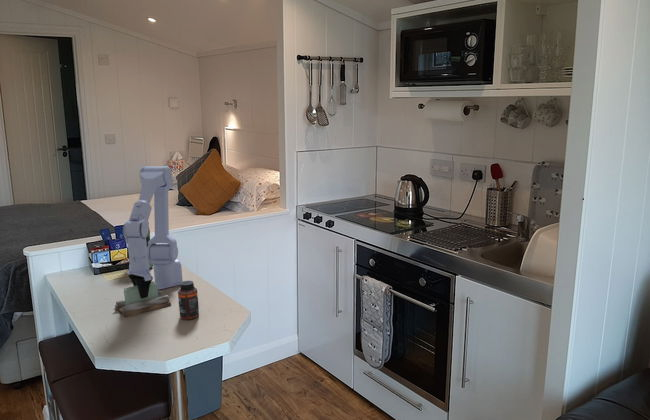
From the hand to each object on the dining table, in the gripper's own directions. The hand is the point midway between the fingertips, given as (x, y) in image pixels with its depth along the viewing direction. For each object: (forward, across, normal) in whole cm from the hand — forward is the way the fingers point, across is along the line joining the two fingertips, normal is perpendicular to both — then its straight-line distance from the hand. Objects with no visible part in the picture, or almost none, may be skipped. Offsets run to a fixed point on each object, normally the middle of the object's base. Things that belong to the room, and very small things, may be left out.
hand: (142, 296), depth 173 cm
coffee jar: (+4, -41, +15) cm, 44 cm away
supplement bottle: (+4, +18, +8) cm, 20 cm away
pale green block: (+2, 0, 0) cm, 2 cm away
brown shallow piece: (+4, 0, 0) cm, 4 cm away
